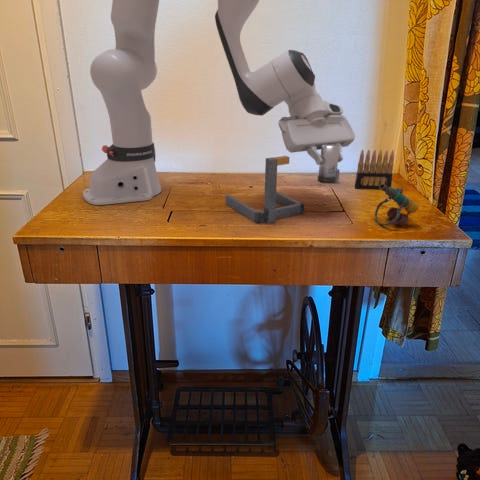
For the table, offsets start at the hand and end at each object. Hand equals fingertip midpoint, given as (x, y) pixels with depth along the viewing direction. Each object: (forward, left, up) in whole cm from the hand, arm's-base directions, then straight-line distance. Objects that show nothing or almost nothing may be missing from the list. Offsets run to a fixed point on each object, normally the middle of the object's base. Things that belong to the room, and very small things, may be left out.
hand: (330, 162), depth 109 cm
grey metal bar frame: (-12, +11, -14) cm, 21 cm away
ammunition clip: (+27, +10, -14) cm, 32 cm away
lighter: (+19, +22, -14) cm, 33 cm away
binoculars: (+11, -13, -14) cm, 22 cm away
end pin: (0, +1, -5) cm, 5 cm away
